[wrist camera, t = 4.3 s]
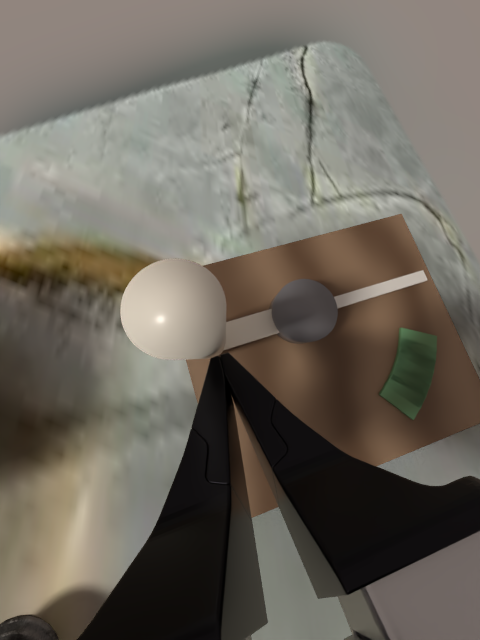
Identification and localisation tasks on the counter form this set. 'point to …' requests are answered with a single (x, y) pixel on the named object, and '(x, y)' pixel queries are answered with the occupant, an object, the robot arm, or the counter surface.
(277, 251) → the dial plate
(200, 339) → the crank handle
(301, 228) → the counter surface
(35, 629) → the salt shaker
